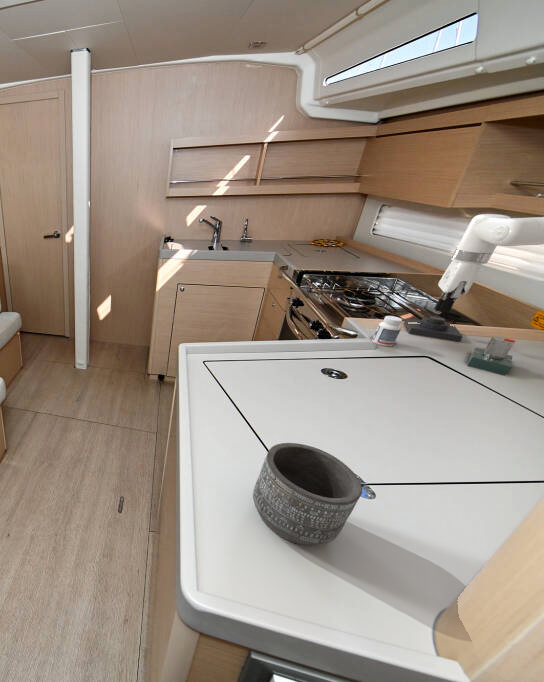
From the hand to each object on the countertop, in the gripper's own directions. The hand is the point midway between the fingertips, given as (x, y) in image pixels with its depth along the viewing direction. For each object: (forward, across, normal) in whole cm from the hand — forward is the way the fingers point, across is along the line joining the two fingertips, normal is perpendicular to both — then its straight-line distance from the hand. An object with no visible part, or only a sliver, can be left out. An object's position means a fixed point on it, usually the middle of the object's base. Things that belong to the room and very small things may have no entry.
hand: (441, 310), depth 118 cm
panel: (+8, +21, +9) cm, 24 cm away
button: (+4, 0, 0) cm, 5 cm away
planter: (+8, +111, -35) cm, 117 cm away
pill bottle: (+8, +18, -14) cm, 24 cm away
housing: (+8, 0, 0) cm, 8 cm away
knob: (+5, +21, +9) cm, 23 cm away
